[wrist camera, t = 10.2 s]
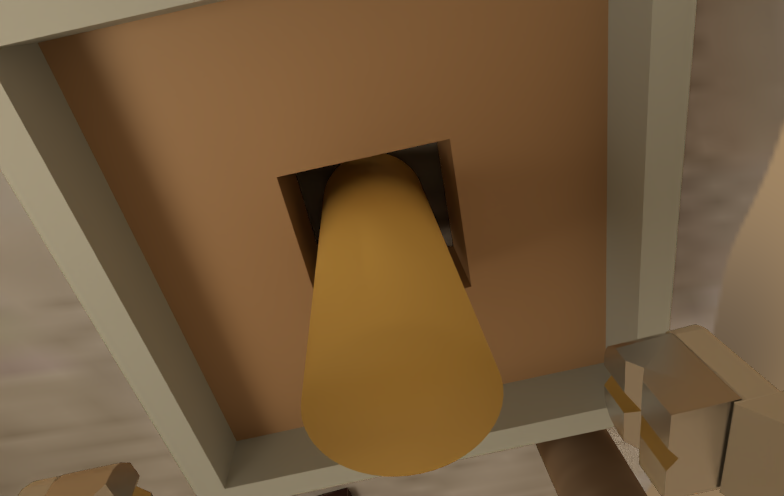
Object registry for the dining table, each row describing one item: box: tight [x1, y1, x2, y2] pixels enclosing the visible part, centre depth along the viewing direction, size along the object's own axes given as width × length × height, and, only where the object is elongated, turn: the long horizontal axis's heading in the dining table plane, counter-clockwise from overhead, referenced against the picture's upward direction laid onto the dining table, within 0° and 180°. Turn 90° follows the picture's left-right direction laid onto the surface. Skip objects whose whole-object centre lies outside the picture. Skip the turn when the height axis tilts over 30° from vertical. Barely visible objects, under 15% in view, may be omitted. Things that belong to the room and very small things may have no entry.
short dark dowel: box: [536, 429, 647, 496], centre depth 20 cm, size 3×3×6 cm
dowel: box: [301, 154, 504, 476], centre depth 13 cm, size 4×4×10 cm
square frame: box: [0, 0, 697, 496], centre depth 15 cm, size 16×16×5 cm
